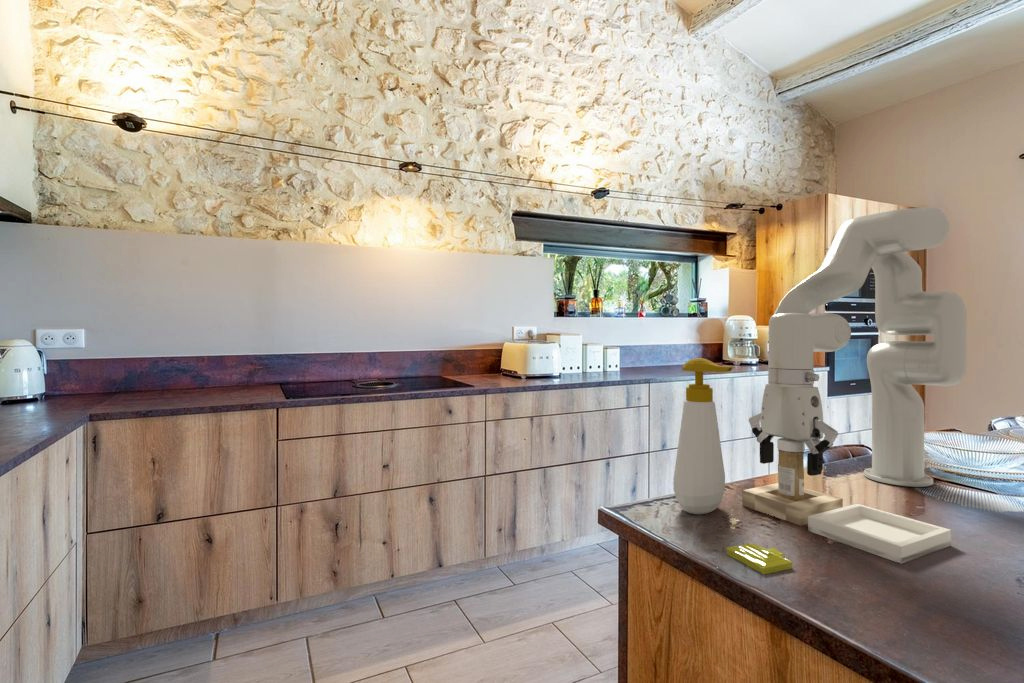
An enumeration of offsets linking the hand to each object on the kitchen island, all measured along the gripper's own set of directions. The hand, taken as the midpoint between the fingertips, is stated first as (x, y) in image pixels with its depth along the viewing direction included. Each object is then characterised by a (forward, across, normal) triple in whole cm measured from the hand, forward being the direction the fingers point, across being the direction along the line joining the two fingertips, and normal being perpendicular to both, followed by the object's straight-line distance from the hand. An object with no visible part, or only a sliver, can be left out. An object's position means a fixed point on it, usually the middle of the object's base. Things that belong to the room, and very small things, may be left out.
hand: (789, 468), depth 96 cm
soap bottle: (+8, +7, +14) cm, 18 cm away
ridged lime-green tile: (+9, -12, +23) cm, 28 cm away
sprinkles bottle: (+8, 0, -1) cm, 8 cm away
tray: (+8, -15, -1) cm, 17 cm away
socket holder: (+8, 0, -1) cm, 8 cm away
